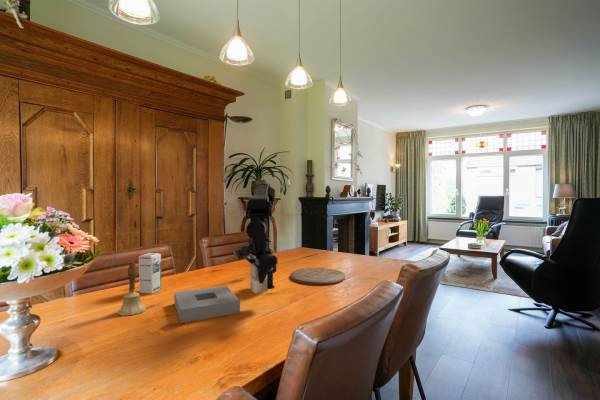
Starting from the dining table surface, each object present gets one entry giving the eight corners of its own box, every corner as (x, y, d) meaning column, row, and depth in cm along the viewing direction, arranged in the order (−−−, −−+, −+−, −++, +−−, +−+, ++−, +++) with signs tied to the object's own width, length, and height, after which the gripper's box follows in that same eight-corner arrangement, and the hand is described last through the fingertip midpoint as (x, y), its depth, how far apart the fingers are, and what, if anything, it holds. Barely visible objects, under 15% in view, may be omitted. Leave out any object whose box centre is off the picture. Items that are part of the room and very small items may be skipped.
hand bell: (126, 306, 106) (126, 259, 106) (150, 306, 106) (150, 259, 106) (111, 315, 98) (110, 264, 98) (137, 316, 98) (137, 265, 97)
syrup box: (152, 293, 119) (152, 255, 119) (138, 292, 120) (138, 255, 120) (161, 289, 125) (161, 253, 124) (148, 288, 126) (148, 252, 126)
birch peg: (262, 287, 109) (262, 261, 108) (267, 291, 105) (267, 264, 104) (250, 289, 107) (250, 263, 106) (254, 293, 103) (254, 265, 102)
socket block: (226, 296, 117) (226, 285, 117) (240, 312, 101) (240, 300, 101) (174, 303, 109) (174, 292, 109) (180, 323, 93) (180, 309, 93)
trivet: (353, 276, 148) (353, 272, 148) (329, 289, 127) (329, 285, 127) (308, 269, 161) (308, 265, 161) (279, 280, 140) (279, 276, 140)
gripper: (228, 233, 110) (227, 277, 110) (243, 240, 93) (243, 292, 94) (258, 231, 115) (258, 274, 115) (278, 238, 98) (278, 287, 99)
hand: (258, 281), depth 106 cm, fingers closed on birch peg, 4 cm apart
